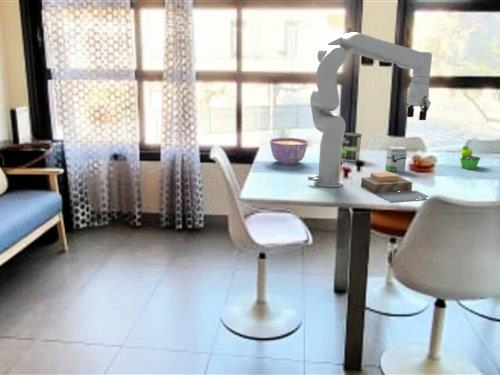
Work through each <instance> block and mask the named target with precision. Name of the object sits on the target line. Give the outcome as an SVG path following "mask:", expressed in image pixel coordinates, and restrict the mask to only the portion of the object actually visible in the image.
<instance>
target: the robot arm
mask: <svg viewBox="0 0 500 375" xmlns="http://www.w3.org/2000/svg"><path fill="white" fill-rule="evenodd" d="M348 54H355V55H359V56H360V57H361V56H362V57H365V58H368V59H372V60H374V61H378V62H383V63H390V64H391V63H392V64H396V66H397V67H398V68H401V69H408V70H412V73H411V74H412V75H411V81H410V84H409V87H408V88H409V89H408V92H407V93H408V94H407V97H406V109H407V110H406V117H407V118H414V114H415V113H414V112H415V108H414V107H419V108H420V111H419V116H418V120H419V121H426V120H427V112H429V111H428V110H429V109H430V106H431V100H430V99H429V97H430V96H429V94H430V79H431V78H430V77H431V69H432V61H433V54H432V52H429V51H418V50H415V49H413V48H410V47H406V46H402V45H399V44H397V43H396V44H395V43H393V42H389V41H385V40H382V39H379V38H376V37H372V36H370V35H367V34H364V33H362V32H361V33H360V32H346V33H345V34H343V35H341V36H339V37H337V38H335V39H333V40H331V41H330V42H328V43H326V44H324V45H323V46H321V47H320V48H319V50H318V51H317V60H318V62H319V65H318V66H317V69H316V74H315V80H316V88H315V89H314V90H313V91H312V93H311V95H310V100H309V101H310V103H309V104H310V109H311V115H312V121H313V125H314V127H315V129H316V130H318V131H319V132H320V133H322V136H321V139H320V145H319V157H318V158H319V162H318V164H319V165H318V173H317V172H316V174H314V175H307V179H308V181H313V182H314V185H316V186H318V187H321V188H330V189H331V188H333V189H334V188H340V187H342V186H344V182H343V181H342V180H340V178H341V165H342V160H341V154H342V142H343V136H344V133H346V121H345V119H344V118H343V117H342V116H341V115H339V114H337V113H334V112H333V111H336V110H338V108H339V105H340V95H339V90H338V89H339V88H338V83H337V80H338V79H337V75H338V72H339V70H340V68H341V67H342V65H343V64H344V63H345V62H346V60H347V55H348Z"/></svg>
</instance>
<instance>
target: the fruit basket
mask: <svg viewBox="0 0 500 375" xmlns="http://www.w3.org/2000/svg"><path fill="white" fill-rule="evenodd" d="M473 153H474V152H473V150H472V149H471V148H470V147H469V146H468V145H462V148H461V158H460V163H461V164H460V165H461V169H465V170H474V169H475V168H476V167H478V164H479V162H480V160H481V157H479V156H474V155H473Z"/></svg>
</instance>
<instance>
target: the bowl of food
mask: <svg viewBox="0 0 500 375" xmlns="http://www.w3.org/2000/svg"><path fill="white" fill-rule="evenodd" d="M269 144H270V149H271V154H272V157H273V159H274V160H276V161H277V162H279V163H280V164H282V165H296V163H299V162H301V161H302V160H303V159H304V158H305V154H306V152H307V148H308V146H309V145H308V144H309V141H308V140H306V139H303V138H295V137H276V138H275V137H274V138H272V139H269Z"/></svg>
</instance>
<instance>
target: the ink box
mask: <svg viewBox="0 0 500 375" xmlns="http://www.w3.org/2000/svg"><path fill="white" fill-rule="evenodd" d="M386 153H387V154H386V160H385V162H386V163H385V169H384V170H385V171H387V170H388V171H387V172H390V171H394V172H406V171H405V170H406V164H407V155H408V148H406V147H404V146H388V147H387V152H386Z"/></svg>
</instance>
